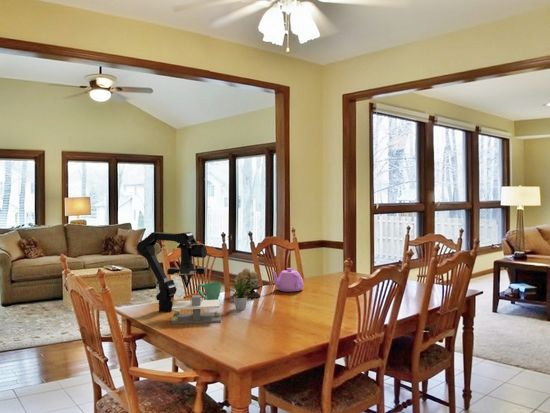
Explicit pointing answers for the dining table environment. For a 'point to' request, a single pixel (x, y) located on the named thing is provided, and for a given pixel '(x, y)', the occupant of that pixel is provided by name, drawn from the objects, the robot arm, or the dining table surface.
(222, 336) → the dining table surface
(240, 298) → the house plant
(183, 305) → the deck
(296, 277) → the teapot
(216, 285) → the mug
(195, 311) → the stand
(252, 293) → the bushy plant
